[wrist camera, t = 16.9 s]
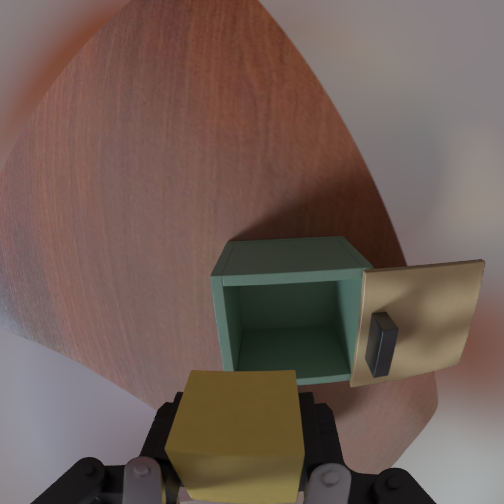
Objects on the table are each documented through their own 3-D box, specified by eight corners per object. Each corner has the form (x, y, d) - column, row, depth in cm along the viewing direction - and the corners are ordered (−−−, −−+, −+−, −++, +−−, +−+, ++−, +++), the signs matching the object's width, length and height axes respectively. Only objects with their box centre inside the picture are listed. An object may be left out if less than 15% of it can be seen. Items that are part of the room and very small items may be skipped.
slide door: (362, 269, 18) (378, 287, 15) (481, 258, 17) (503, 271, 14) (349, 382, 21) (357, 408, 18) (455, 360, 20) (469, 379, 17)
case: (227, 241, 27) (209, 276, 19) (342, 235, 26) (374, 266, 18) (236, 331, 30) (226, 387, 22) (338, 326, 29) (359, 379, 21)
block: (190, 369, 10) (163, 448, 6) (295, 369, 10) (305, 454, 6) (206, 430, 11) (191, 499, 8) (292, 431, 11) (296, 502, 7)
